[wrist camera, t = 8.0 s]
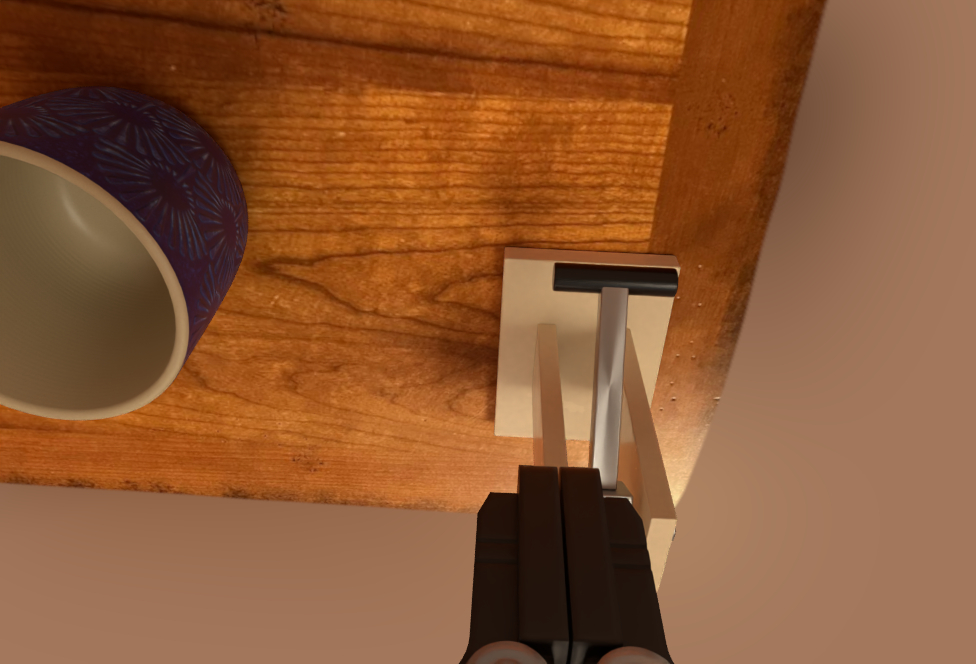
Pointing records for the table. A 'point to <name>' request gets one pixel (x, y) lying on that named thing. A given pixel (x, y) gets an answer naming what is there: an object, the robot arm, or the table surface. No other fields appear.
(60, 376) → the planter
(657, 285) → the lever
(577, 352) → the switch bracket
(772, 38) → the table surface
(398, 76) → the table surface
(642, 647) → the robot arm
